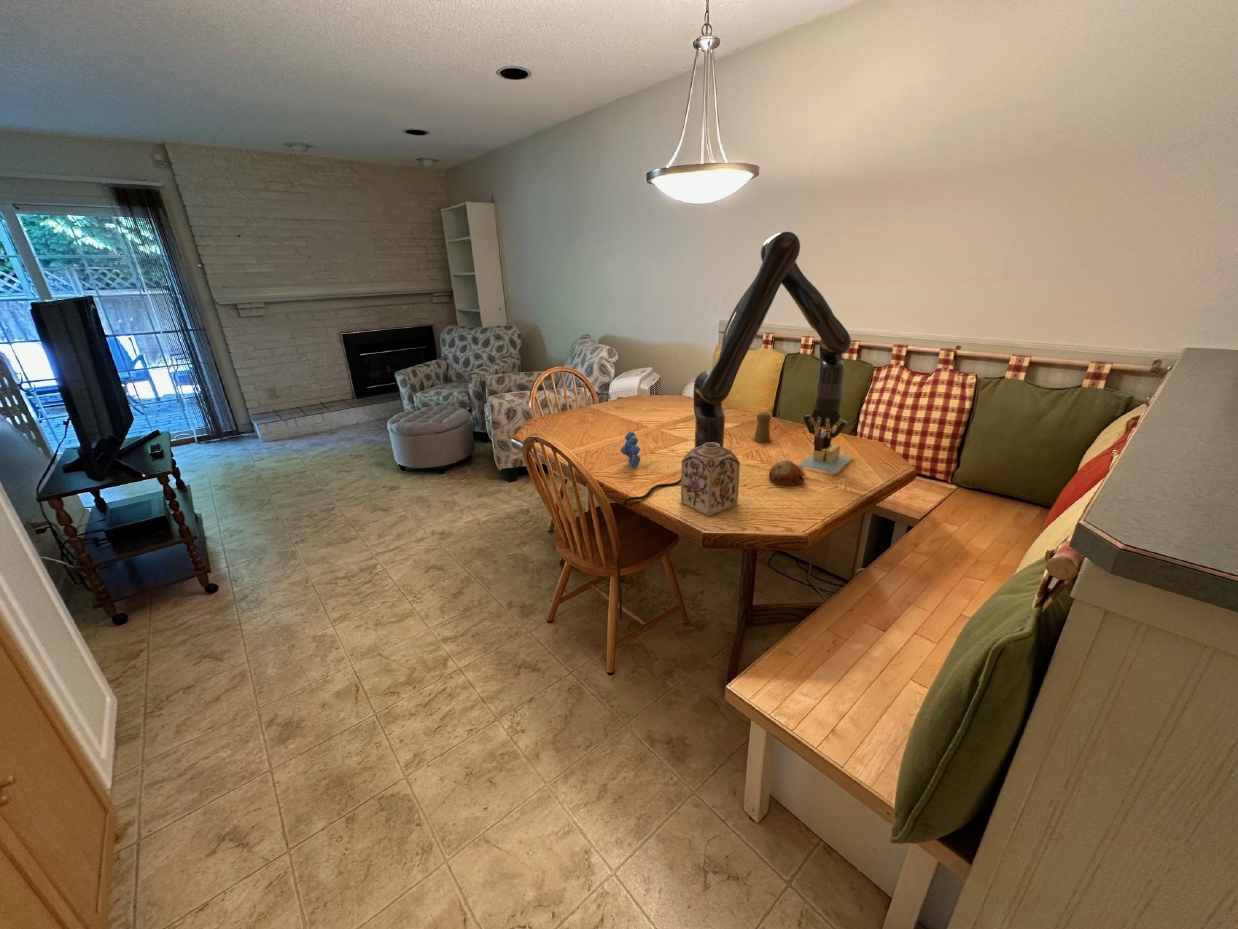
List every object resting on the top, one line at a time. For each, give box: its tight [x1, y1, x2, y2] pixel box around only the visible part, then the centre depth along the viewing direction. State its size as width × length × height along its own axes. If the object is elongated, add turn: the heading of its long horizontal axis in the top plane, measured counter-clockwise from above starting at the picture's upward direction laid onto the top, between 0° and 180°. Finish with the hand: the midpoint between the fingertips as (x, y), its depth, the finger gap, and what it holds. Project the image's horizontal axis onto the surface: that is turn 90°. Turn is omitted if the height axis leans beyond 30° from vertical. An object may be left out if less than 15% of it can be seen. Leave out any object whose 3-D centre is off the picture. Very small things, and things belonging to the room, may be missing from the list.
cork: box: [753, 411, 772, 444], centre depth 185 cm, size 6×6×11 cm
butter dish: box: [798, 453, 854, 474], centre depth 162 cm, size 18×12×1 cm, turn 140°
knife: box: [813, 425, 838, 452], centre depth 158 cm, size 17×2×4 cm, turn 140°
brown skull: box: [768, 460, 806, 487], centre depth 149 cm, size 10×10×8 cm
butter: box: [813, 443, 833, 461], centre depth 164 cm, size 8×3×4 cm, turn 140°
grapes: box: [620, 430, 642, 469], centre depth 164 cm, size 12×7×12 cm, turn 14°
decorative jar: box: [680, 442, 741, 517], centre depth 133 cm, size 12×12×18 cm
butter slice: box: [826, 444, 841, 463], centre depth 162 cm, size 8×2×4 cm, turn 140°
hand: (821, 447), depth 155 cm, fingers closed on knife, 2 cm apart
